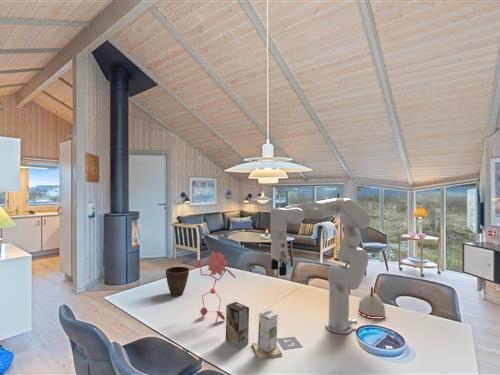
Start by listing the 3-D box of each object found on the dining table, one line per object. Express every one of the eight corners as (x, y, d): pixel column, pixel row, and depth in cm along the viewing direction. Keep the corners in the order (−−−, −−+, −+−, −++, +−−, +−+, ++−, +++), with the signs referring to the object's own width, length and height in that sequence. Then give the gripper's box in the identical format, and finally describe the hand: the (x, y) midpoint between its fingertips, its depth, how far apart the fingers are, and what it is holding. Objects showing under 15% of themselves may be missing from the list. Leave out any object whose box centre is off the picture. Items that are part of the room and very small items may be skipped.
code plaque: (294, 336, 130) (294, 336, 130) (302, 347, 121) (302, 346, 121) (276, 338, 128) (276, 338, 128) (283, 349, 119) (283, 349, 119)
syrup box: (265, 342, 121) (266, 309, 122) (276, 347, 118) (277, 313, 118) (257, 347, 117) (258, 313, 118) (268, 353, 113) (269, 317, 114)
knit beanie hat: (357, 315, 155) (357, 288, 156) (359, 307, 168) (359, 282, 168) (385, 321, 149) (385, 293, 150) (385, 311, 162) (385, 286, 162)
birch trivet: (273, 343, 124) (273, 340, 124) (281, 356, 114) (282, 352, 114) (252, 345, 121) (252, 342, 121) (258, 359, 111) (258, 355, 111)
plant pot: (183, 299, 172) (183, 273, 173) (160, 297, 174) (161, 271, 175) (191, 291, 187) (192, 267, 187) (170, 289, 189) (171, 266, 190)
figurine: (229, 329, 135) (231, 256, 137) (186, 318, 147) (189, 251, 148) (243, 317, 149) (245, 252, 151) (203, 308, 160) (206, 247, 162)
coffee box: (249, 344, 122) (250, 307, 123) (238, 349, 118) (239, 311, 118) (235, 336, 129) (236, 301, 129) (224, 341, 124) (225, 304, 125)
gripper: (294, 237, 120) (294, 277, 120) (279, 232, 137) (279, 266, 136) (278, 238, 118) (278, 278, 118) (264, 232, 135) (264, 268, 134)
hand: (278, 272), depth 127 cm, fingers open, 9 cm apart
